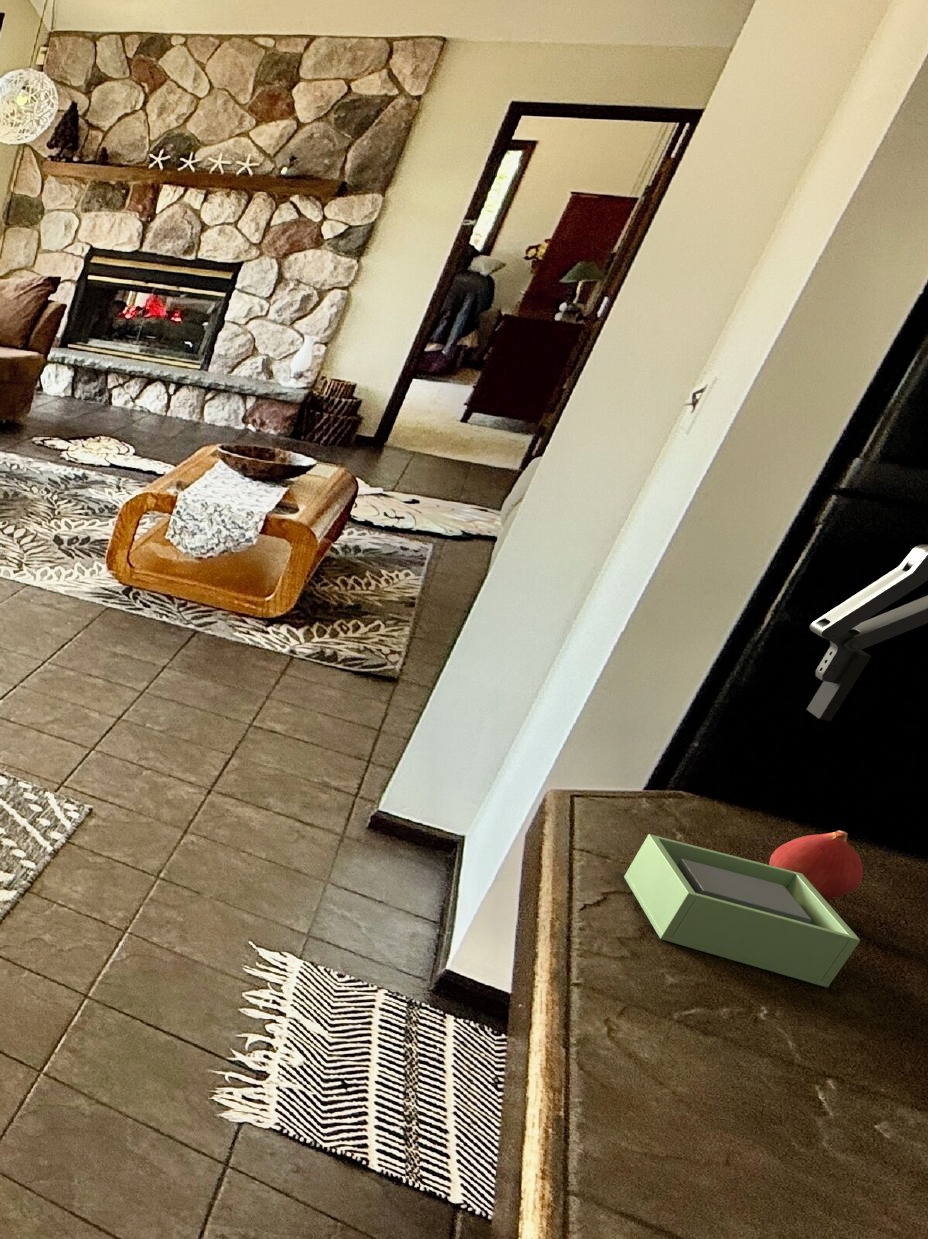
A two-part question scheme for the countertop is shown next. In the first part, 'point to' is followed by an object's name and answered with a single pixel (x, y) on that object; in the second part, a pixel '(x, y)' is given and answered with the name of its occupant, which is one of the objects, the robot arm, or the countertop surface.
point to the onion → (822, 862)
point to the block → (742, 890)
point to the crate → (739, 914)
